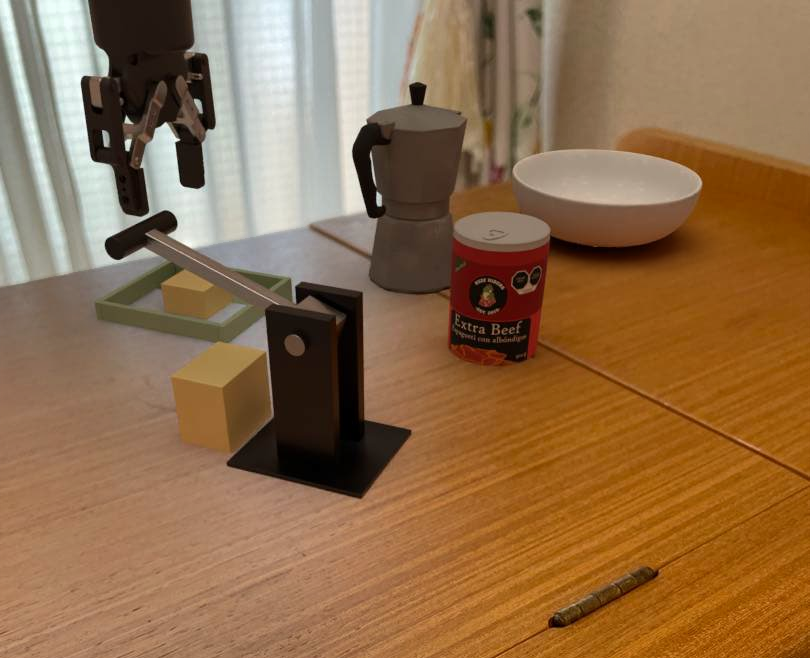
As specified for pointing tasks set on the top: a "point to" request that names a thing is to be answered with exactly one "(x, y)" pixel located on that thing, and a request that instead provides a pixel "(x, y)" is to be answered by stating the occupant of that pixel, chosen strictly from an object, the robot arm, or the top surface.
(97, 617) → the top surface
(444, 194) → the coffeepot
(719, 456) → the top surface
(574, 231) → the serving bowl
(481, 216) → the canned food
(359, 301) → the lever stand
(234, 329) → the dish
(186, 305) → the butter pat
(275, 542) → the top surface
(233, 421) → the butter
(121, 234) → the lever
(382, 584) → the top surface
